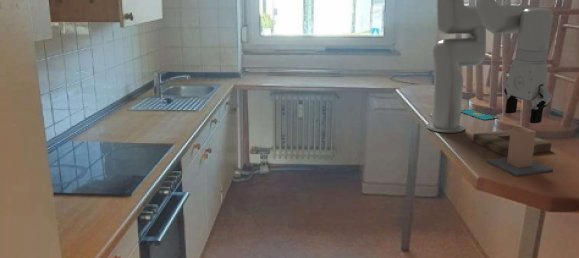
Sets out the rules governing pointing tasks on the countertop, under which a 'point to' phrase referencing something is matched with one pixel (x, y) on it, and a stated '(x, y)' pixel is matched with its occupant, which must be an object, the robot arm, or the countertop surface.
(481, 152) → the countertop surface
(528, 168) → the mat
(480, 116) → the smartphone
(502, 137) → the pocket board
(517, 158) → the block
